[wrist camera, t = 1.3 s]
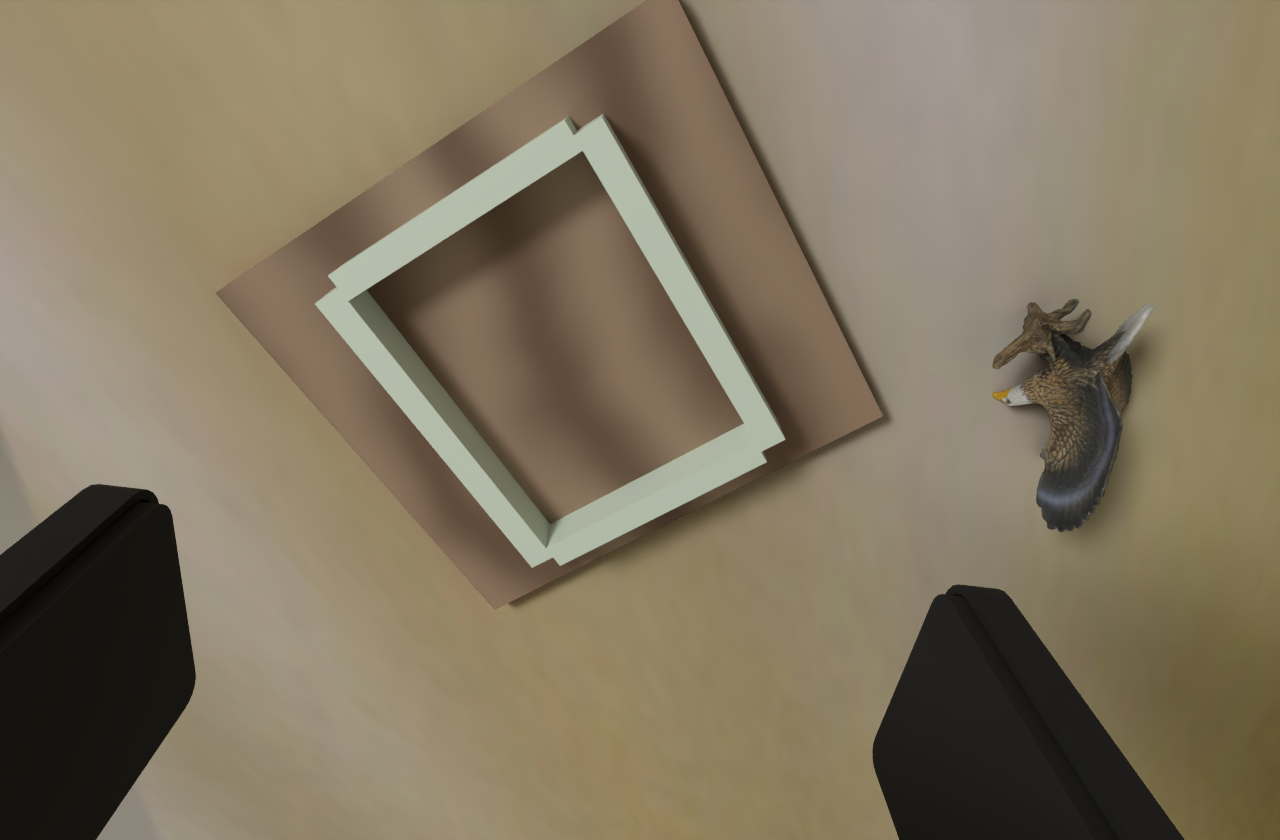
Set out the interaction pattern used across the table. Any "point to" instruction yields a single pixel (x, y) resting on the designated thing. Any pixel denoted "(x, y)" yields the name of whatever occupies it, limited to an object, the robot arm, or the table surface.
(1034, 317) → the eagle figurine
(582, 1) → the table surface
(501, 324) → the jig board
